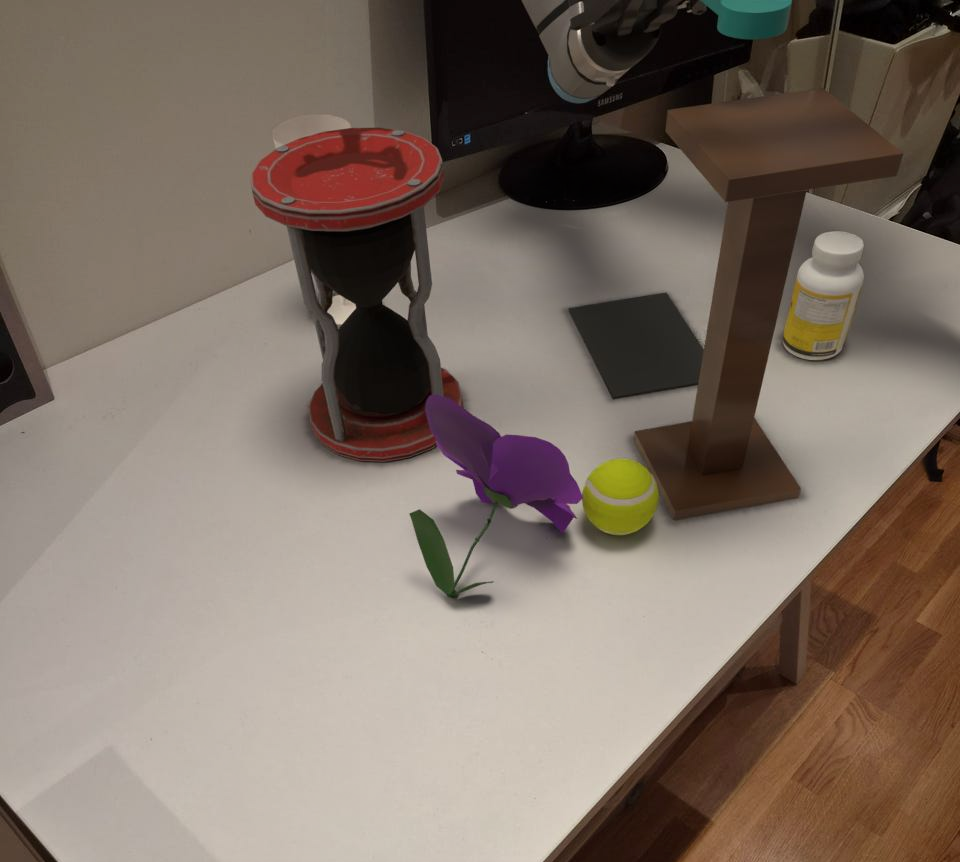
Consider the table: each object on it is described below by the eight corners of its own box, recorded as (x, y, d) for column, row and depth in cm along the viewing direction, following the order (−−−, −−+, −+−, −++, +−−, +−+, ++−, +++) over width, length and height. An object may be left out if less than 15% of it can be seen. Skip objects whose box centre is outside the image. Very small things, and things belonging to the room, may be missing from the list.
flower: (542, 648, 77) (607, 514, 78) (494, 601, 63) (574, 440, 64) (408, 588, 82) (471, 464, 84) (337, 533, 69) (414, 386, 70)
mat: (568, 311, 102) (568, 307, 102) (666, 295, 103) (666, 292, 103) (612, 400, 91) (613, 396, 90) (722, 381, 92) (722, 378, 91)
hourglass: (493, 396, 92) (480, 145, 73) (401, 483, 84) (359, 227, 65) (375, 354, 99) (334, 113, 79) (279, 431, 91) (208, 184, 71)
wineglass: (352, 283, 109) (321, 108, 93) (393, 310, 104) (367, 130, 89) (298, 308, 106) (257, 130, 90) (338, 336, 101) (301, 155, 86)
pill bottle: (819, 324, 97) (847, 220, 88) (855, 353, 94) (888, 248, 84) (769, 338, 96) (792, 235, 87) (803, 369, 92) (831, 264, 83)
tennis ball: (665, 542, 77) (674, 484, 72) (593, 557, 77) (597, 500, 71) (639, 494, 82) (646, 436, 76) (571, 507, 81) (573, 450, 76)
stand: (633, 440, 86) (667, 109, 63) (747, 420, 87) (822, 87, 64) (673, 521, 79) (729, 179, 56) (798, 498, 80) (904, 152, 57)
